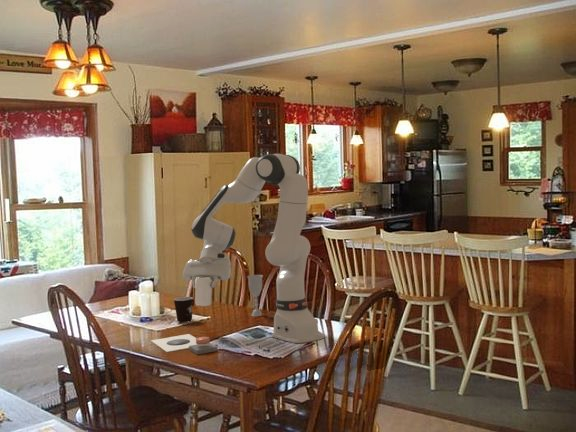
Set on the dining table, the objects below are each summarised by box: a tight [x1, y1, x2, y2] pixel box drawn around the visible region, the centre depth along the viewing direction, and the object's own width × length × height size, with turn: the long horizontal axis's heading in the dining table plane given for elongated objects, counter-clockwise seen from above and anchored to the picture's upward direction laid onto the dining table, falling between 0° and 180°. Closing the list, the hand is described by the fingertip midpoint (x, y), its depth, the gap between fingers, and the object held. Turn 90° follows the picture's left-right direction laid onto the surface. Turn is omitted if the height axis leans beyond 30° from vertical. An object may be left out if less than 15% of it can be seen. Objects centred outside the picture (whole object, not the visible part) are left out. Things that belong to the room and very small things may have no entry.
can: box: [194, 275, 212, 308], centre depth 259 cm, size 6×6×12 cm
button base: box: [188, 341, 218, 356], centre depth 234 cm, size 8×8×2 cm
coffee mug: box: [173, 296, 195, 323], centre depth 286 cm, size 12×9×10 cm
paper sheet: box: [150, 333, 197, 353], centre depth 246 cm, size 20×16×1 cm
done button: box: [195, 336, 211, 344], centre depth 234 cm, size 5×5×2 cm
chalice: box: [246, 274, 264, 317], centre depth 289 cm, size 7×7×18 cm
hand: (203, 287), depth 259 cm, fingers closed on can, 6 cm apart
